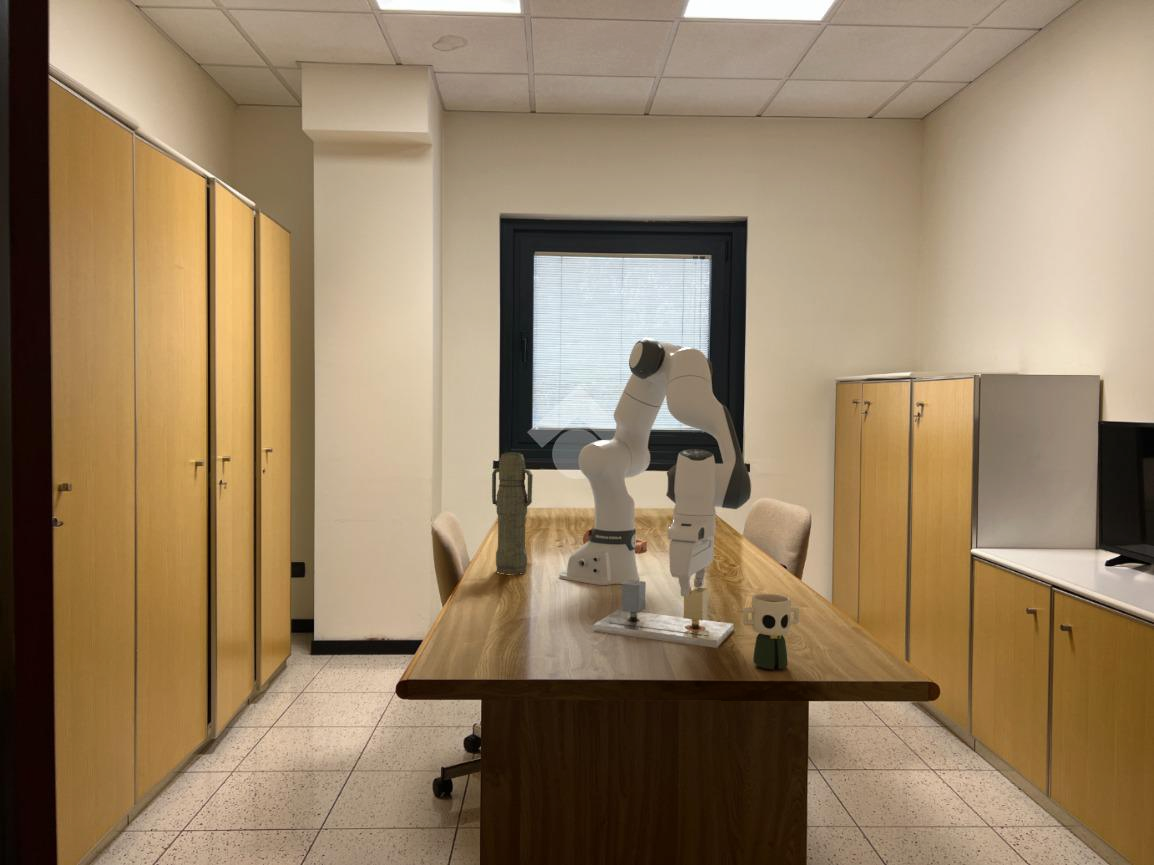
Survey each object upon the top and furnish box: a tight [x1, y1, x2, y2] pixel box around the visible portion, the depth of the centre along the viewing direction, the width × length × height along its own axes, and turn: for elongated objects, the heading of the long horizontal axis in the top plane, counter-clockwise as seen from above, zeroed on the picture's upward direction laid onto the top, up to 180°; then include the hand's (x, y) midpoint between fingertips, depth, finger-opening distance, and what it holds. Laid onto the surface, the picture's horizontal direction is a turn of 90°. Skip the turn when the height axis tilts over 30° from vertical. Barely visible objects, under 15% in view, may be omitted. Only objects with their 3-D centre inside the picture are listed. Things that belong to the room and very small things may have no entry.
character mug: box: [742, 593, 800, 670], centre depth 148 cm, size 11×7×13 cm, turn 97°
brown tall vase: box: [491, 451, 534, 575], centre depth 229 cm, size 9×12×35 cm
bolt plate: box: [593, 580, 734, 649], centre depth 172 cm, size 27×14×10 cm, turn 65°
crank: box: [582, 528, 648, 554], centre depth 267 cm, size 20×8×8 cm, turn 65°
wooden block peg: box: [683, 586, 709, 628], centre depth 169 cm, size 4×4×8 cm
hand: (692, 591), depth 169 cm, fingers open, 8 cm apart
